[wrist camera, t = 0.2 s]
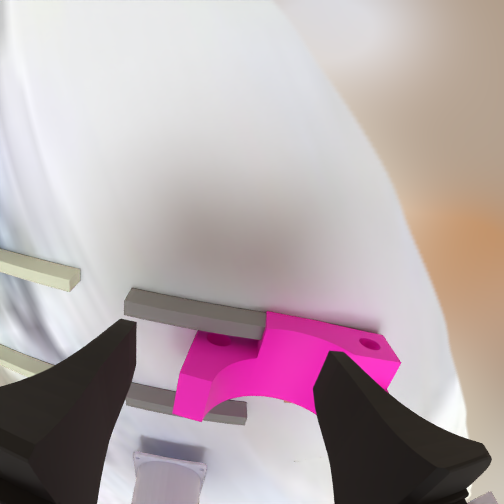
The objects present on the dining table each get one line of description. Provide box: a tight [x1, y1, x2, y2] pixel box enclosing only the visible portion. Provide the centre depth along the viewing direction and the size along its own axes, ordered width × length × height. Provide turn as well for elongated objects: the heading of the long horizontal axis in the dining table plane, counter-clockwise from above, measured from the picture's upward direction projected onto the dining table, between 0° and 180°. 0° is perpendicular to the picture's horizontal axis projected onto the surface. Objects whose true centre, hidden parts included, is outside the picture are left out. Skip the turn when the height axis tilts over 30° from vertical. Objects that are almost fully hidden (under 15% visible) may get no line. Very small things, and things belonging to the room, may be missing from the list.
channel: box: [124, 288, 292, 425], centre depth 25 cm, size 11×18×2 cm, turn 78°
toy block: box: [172, 311, 401, 422], centre depth 22 cm, size 15×6×8 cm, turn 75°
